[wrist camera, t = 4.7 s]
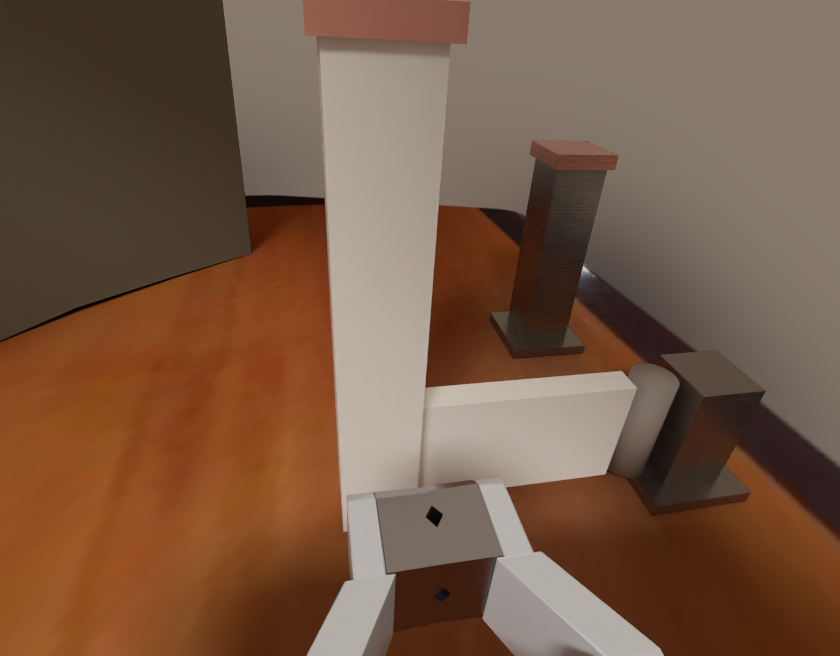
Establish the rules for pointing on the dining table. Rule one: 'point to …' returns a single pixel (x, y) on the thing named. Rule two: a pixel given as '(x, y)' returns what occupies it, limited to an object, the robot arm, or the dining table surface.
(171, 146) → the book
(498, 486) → the robot arm
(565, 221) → the post
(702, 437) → the hinge post
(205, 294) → the dining table surface
